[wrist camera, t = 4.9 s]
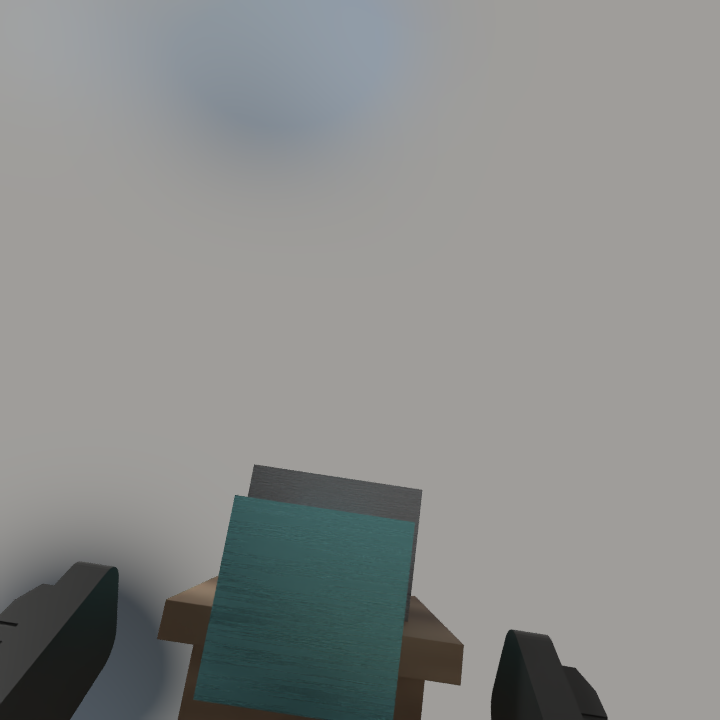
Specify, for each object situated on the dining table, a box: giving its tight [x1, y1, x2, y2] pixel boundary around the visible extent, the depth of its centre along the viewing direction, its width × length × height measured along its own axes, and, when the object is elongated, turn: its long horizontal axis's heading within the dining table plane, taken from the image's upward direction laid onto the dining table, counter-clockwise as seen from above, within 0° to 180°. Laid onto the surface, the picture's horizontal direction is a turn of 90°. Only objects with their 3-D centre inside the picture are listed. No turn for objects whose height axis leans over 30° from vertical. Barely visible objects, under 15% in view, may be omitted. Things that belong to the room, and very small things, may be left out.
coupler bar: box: [193, 465, 422, 720], centre depth 20 cm, size 20×7×5 cm, turn 2°
